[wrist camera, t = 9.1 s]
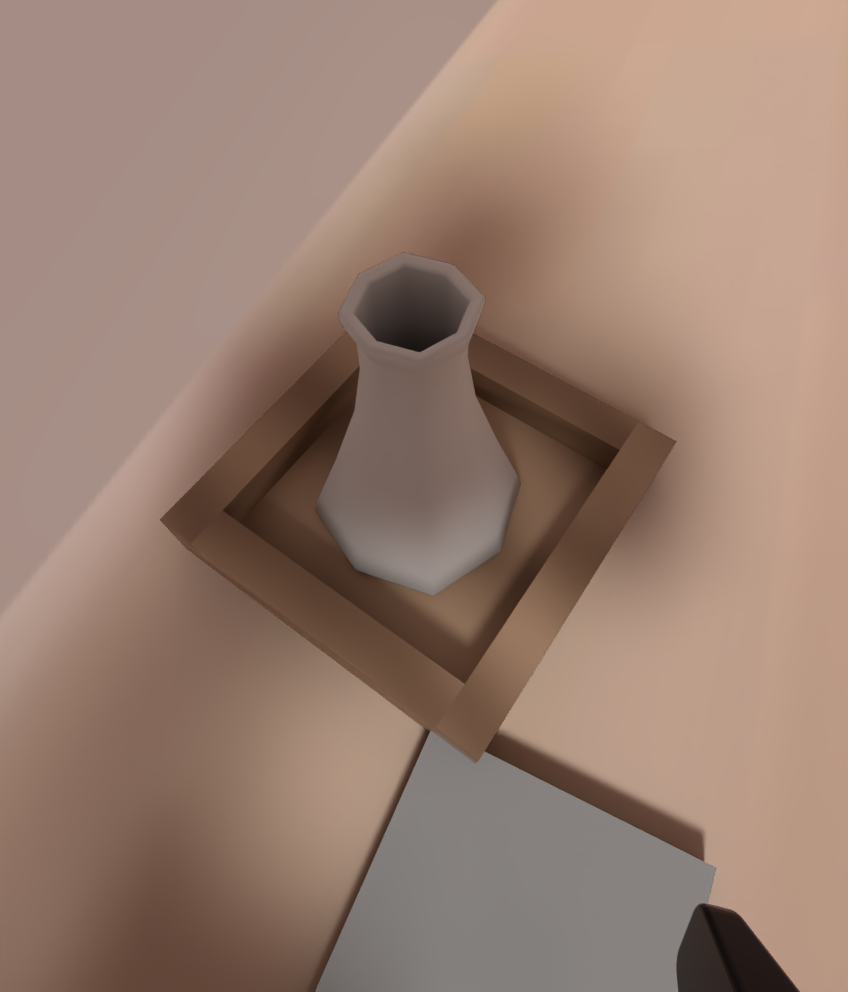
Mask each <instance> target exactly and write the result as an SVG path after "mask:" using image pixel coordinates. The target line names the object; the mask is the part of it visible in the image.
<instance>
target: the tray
mask: <svg viewBox="0 0 848 992" xmlns="http://www.w3.org/2000/svg"><path fill="white" fill-rule="evenodd" d="M468 360H469V365H470V370H471V375H472V380H473V385H474V390H475V395H476V398H477V400H478V402H479V404H480V406H481V408H482V410H483V412H484V414H485V416H486V418H487V420H488V422H489V424H490V426H491V428H492V431H493V433H494V435H495V437H496V439H497V441H498V443H499V444H500V446H501V448H502V449H503V451H504V453H505V455H506V456H507V458H508V460H509V462H510V463H511V465H512V467H513V469H514V470H515V472H516V474H517V476H518V478H519V480H520V482H521V486H520V489H519V492H518V496H517V499H516V502H515V505H514V509H513V512H512V515H511V518H510V522H509V525H508V528H507V531H506V534H505V538H504V541H503V544H502V547H501V551H500V552H499V553H497V554H496V555H494V556H493V557H491V558H490V559H488V560H487V561H485V562H484V563H482V564H481V565H479V566H478V567H476V568H474V569H473V570H471V571H470V572H468V573H467V574H465V575H464V576H462V577H461V578H459V579H458V580H456V581H455V582H453V583H452V584H450V585H449V586H447V587H446V588H444V589H443V590H441V591H440V592H438V593H437V594H435V595H434V596H433V595H430V594H427V593H423V592H420V591H417V590H414V589H411V588H408V587H405V586H402V585H399V584H396V583H393V582H390V581H387V580H384V579H381V578H378V577H375V576H372V575H369V574H366V573H363V572H360V571H357V570H355V569H354V567H353V566H352V564H351V563H350V561H349V560H348V558H347V557H346V555H345V554H344V552H343V551H342V549H341V548H340V546H339V545H338V543H337V542H336V540H335V539H334V537H333V536H332V534H331V533H330V531H329V530H328V528H327V527H326V525H325V524H324V522H323V521H322V519H321V518H320V516H319V515H318V513H317V512H316V510H315V507H316V504H317V501H318V499H319V496H320V494H321V492H322V489H323V487H324V485H325V483H326V481H327V478H328V476H329V474H330V472H331V469H332V467H333V465H334V463H335V461H336V458H337V455H338V453H339V450H340V447H341V445H342V442H343V439H344V437H345V434H346V432H347V429H348V426H349V424H350V421H351V418H352V416H353V413H354V410H355V403H356V395H357V387H358V379H359V371H360V366H359V358H358V351H357V344H356V342H355V341H354V340H353V339H352V337H351V336H350V335H349V334H348V332H346V333H345V334H344V335H343V336H342V337H341V338H340V339H339V340H338V341H337V342H336V343H335V344H334V345H333V346H332V347H331V348H330V349H329V350H328V351H327V352H326V353H325V354H324V355H323V356H322V357H321V358H320V359H319V360H318V361H317V362H316V363H315V364H314V365H313V366H312V367H311V368H310V369H309V370H308V371H307V372H306V373H305V374H304V375H303V376H302V377H301V378H300V379H299V380H298V381H297V382H296V383H295V384H294V385H293V386H292V387H291V388H290V389H289V390H288V391H287V392H286V393H285V394H284V395H283V396H282V397H281V398H280V399H279V400H278V401H277V402H276V403H275V404H274V405H273V406H272V407H271V408H270V409H269V410H268V411H267V412H266V413H265V414H264V415H263V416H262V417H261V418H260V419H259V420H258V421H257V422H256V423H255V424H254V425H253V426H252V427H251V428H250V429H249V430H248V431H247V432H246V433H245V434H244V435H243V436H242V437H241V438H240V439H239V440H238V441H237V442H236V443H235V444H234V445H233V446H232V447H231V448H230V449H229V450H228V451H227V452H226V453H225V454H224V456H223V457H222V458H221V459H220V460H219V461H218V462H217V463H216V464H215V465H214V466H213V467H212V468H211V469H210V470H209V471H208V472H207V473H206V474H205V475H204V476H203V477H202V478H201V479H200V480H199V481H198V482H197V483H196V484H195V485H194V486H193V487H192V488H191V489H190V490H189V491H188V492H187V493H186V494H185V495H184V496H183V497H182V498H181V499H180V500H179V501H178V502H177V503H176V504H175V505H174V506H173V507H172V508H171V509H170V510H169V511H168V512H167V513H166V514H165V515H164V516H163V517H162V518H161V519H160V521H161V522H162V523H163V524H164V525H165V526H166V527H167V528H168V529H169V530H170V531H171V533H172V534H173V535H174V536H175V537H176V538H177V539H178V540H179V541H180V542H181V543H182V544H183V545H184V546H185V548H187V549H188V550H189V551H191V552H192V553H193V554H195V555H196V556H197V557H199V558H200V559H201V560H203V561H204V562H205V563H207V564H208V565H209V566H211V567H212V568H213V569H215V570H216V571H217V572H219V573H220V574H221V575H222V576H224V577H225V578H226V579H228V580H229V581H230V582H232V583H233V584H234V585H236V586H237V587H238V588H240V589H241V590H242V591H244V592H245V593H246V594H248V595H249V596H250V597H252V598H253V599H254V600H256V601H257V602H258V603H260V604H261V605H262V606H264V607H265V608H266V609H267V610H269V611H270V612H271V613H273V614H274V615H275V616H277V617H278V618H279V619H281V620H282V621H283V622H285V623H286V624H287V625H289V626H290V627H291V628H293V629H294V630H295V631H297V632H298V633H299V634H301V635H302V636H303V637H305V638H306V639H307V640H309V641H310V642H311V643H312V644H314V645H315V646H316V647H318V648H319V649H320V650H322V651H323V652H324V653H326V654H327V655H328V656H330V657H331V658H332V659H334V660H335V661H336V662H338V663H339V664H340V665H342V666H343V667H344V668H346V669H347V670H348V671H350V672H351V673H352V674H354V675H355V676H356V677H357V678H359V679H360V680H361V681H363V682H364V683H365V684H367V685H368V686H369V687H371V688H372V689H373V690H375V691H376V692H377V693H379V694H380V695H381V696H383V697H384V698H385V699H387V700H388V701H389V702H391V703H392V704H393V705H395V706H396V707H397V708H399V709H400V710H401V711H402V712H404V713H405V714H406V715H408V716H409V717H410V718H412V719H413V720H414V721H416V722H417V723H418V724H420V725H421V726H422V727H424V728H425V729H426V730H428V731H429V732H430V731H433V732H434V733H435V734H437V735H438V736H439V737H441V738H442V739H443V740H445V741H446V742H447V743H449V744H450V745H451V746H453V747H454V748H455V749H457V750H458V751H459V752H461V753H462V754H463V755H465V756H466V757H467V758H469V759H470V760H471V761H472V762H474V763H475V764H476V763H477V762H478V761H479V759H480V758H481V756H482V755H483V753H484V751H485V750H486V748H487V747H488V745H489V743H490V742H491V740H492V738H493V737H494V735H495V734H496V732H497V730H498V729H499V727H500V726H501V724H502V722H503V721H504V719H505V717H506V716H507V714H508V713H509V711H510V709H511V708H512V706H513V705H514V703H515V701H516V700H517V698H518V697H519V695H520V693H521V692H522V690H523V688H524V687H525V685H526V684H527V682H528V680H529V679H530V677H531V676H532V674H533V672H534V671H535V669H536V667H537V666H538V664H539V663H540V661H541V659H542V658H543V656H544V655H545V653H546V651H547V650H548V648H549V646H550V645H551V643H552V642H553V640H554V638H555V637H556V635H557V634H558V632H559V630H560V629H561V627H562V626H563V624H564V622H565V621H566V619H567V617H568V616H569V614H570V613H571V611H572V609H573V608H574V606H575V605H576V603H577V601H578V600H579V598H580V596H581V595H582V593H583V592H584V590H585V588H586V587H587V585H588V584H589V582H590V580H591V579H592V577H593V575H594V574H595V572H596V571H597V569H598V567H599V566H600V564H601V563H602V561H603V559H604V558H605V556H606V554H607V553H608V551H609V550H610V548H611V546H612V545H613V543H614V542H615V540H616V538H617V537H618V535H619V534H620V532H621V530H622V529H623V527H624V525H625V524H626V522H627V521H628V519H629V517H630V516H631V514H632V513H633V511H634V509H635V508H636V506H637V504H638V503H639V501H640V500H641V498H642V496H643V495H644V493H645V492H646V490H647V488H648V487H649V485H650V483H651V482H652V480H653V479H654V477H655V475H656V474H657V472H658V471H659V469H660V467H661V466H662V464H663V462H664V461H665V459H666V458H667V456H668V454H669V453H670V451H671V450H672V448H673V446H674V445H675V443H676V442H677V441H675V440H673V439H671V438H669V437H667V436H665V435H664V434H662V433H660V432H658V431H656V430H654V429H652V428H650V427H648V426H647V425H645V424H643V423H641V422H639V421H637V420H635V419H633V418H631V417H630V416H628V415H626V414H624V413H622V412H620V411H618V410H616V409H614V408H613V407H611V406H609V405H607V404H605V403H603V402H601V401H599V400H598V399H596V398H594V397H592V396H590V395H588V394H586V393H584V392H582V391H581V390H579V389H577V388H575V387H573V386H571V385H569V384H567V383H565V382H564V381H562V380H560V379H558V378H556V377H554V376H552V375H550V374H549V373H547V372H545V371H543V370H541V369H539V368H537V367H535V366H533V365H532V364H530V363H528V362H526V361H524V360H522V359H520V358H518V357H516V356H515V355H513V354H511V353H509V352H507V351H505V350H503V349H501V348H499V347H498V346H496V345H494V344H492V343H490V342H488V341H486V340H484V339H483V338H481V337H479V336H477V335H475V334H473V335H472V337H471V340H470V342H469V345H468Z"/></svg>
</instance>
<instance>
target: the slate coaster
mask: <svg viewBox="0 0 848 992" xmlns="http://www.w3.org/2000/svg"><path fill="white" fill-rule="evenodd" d="M715 870H716V867H714V866H712V865H710V864H708V863H706V862H704V861H702V860H700V859H698V858H696V857H694V856H692V855H690V854H688V853H686V852H684V851H682V850H680V849H678V848H676V847H674V846H672V845H670V844H668V843H666V842H664V841H662V840H660V839H658V838H656V837H654V836H652V835H650V834H648V833H646V832H644V831H642V830H640V829H638V828H636V827H634V826H632V825H630V824H628V823H626V822H624V821H622V820H620V819H618V818H616V817H614V816H612V815H610V814H608V813H606V812H604V811H602V810H600V809H598V808H596V807H594V806H592V805H590V804H588V803H586V802H584V801H582V800H580V799H578V798H576V797H574V796H572V795H570V794H568V793H566V792H564V791H562V790H560V789H558V788H556V787H554V786H552V785H550V784H548V783H546V782H544V781H542V780H540V779H538V778H536V777H534V776H532V775H530V774H529V773H527V772H525V771H523V770H521V769H519V768H517V767H515V766H513V765H511V764H509V763H507V762H505V761H503V760H501V759H499V758H497V757H495V756H493V755H491V754H489V753H487V752H485V751H484V753H483V755H482V756H481V758H480V759H479V761H478V762H477V763H476V764H475V763H474V762H472V761H471V760H470V759H469V758H467V757H466V756H465V755H463V754H462V753H461V752H459V751H458V750H457V749H455V748H454V747H453V746H451V745H450V744H449V743H447V742H446V741H445V740H443V739H442V738H441V737H439V736H438V735H437V734H435V733H434V732H433V731H430V733H429V735H428V737H427V740H426V742H425V744H424V746H423V749H422V751H421V753H420V756H419V758H418V760H417V762H416V765H415V767H414V769H413V771H412V774H411V776H410V778H409V780H408V783H407V785H406V787H405V789H404V792H403V794H402V796H401V798H400V801H399V803H398V805H397V807H396V810H395V812H394V814H393V816H392V819H391V821H390V823H389V825H388V828H387V830H386V832H385V834H384V837H383V839H382V841H381V843H380V846H379V848H378V850H377V853H376V855H375V857H374V859H373V862H372V864H371V866H370V868H369V871H368V873H367V875H366V877H365V880H364V882H363V884H362V886H361V889H360V891H359V893H358V895H357V898H356V900H355V902H354V904H353V907H352V909H351V911H350V913H349V916H348V918H347V920H346V922H345V925H344V927H343V929H342V931H341V934H340V936H339V938H338V940H337V943H336V945H335V947H334V950H333V952H332V954H331V956H330V959H329V961H328V963H327V965H326V968H325V970H324V972H323V974H322V977H321V979H320V981H319V983H318V986H317V988H316V990H315V992H678V985H677V974H676V962H677V954H678V950H679V947H680V944H681V942H682V939H683V937H684V934H685V931H686V929H687V926H688V924H689V921H690V919H691V916H692V913H693V911H694V909H695V907H696V906H697V905H698V904H700V903H706V904H708V901H709V897H710V892H711V888H712V884H713V879H714V875H715Z"/></svg>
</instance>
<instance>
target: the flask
mask: <svg viewBox="0 0 848 992" xmlns="http://www.w3.org/2000/svg"><path fill="white" fill-rule="evenodd" d="M484 305H485V296H484V295H483V294H482V293H481V292H480V291H479V290H478V289H477V288H476V287H475V286H474V285H473V284H472V283H471V282H470V281H469V280H468V279H467V278H466V277H465V276H464V275H463V274H462V273H461V272H460V271H459V270H458V269H457V268H456V267H455V266H454V265H453V264H450V263H446V262H442V261H437V260H433V259H429V258H425V257H421V256H417V255H412V254H408V253H404V252H403V253H401V254H399V255H397V256H395V257H393V258H391V259H389V260H387V261H384V262H382V263H380V264H378V265H376V266H374V267H372V268H370V269H368V270H366V271H364V272H362V273H360V274H358V276H357V278H356V280H355V282H354V284H353V286H352V287H351V289H350V291H349V293H348V295H347V297H346V299H345V300H344V302H343V304H342V306H341V308H340V310H339V312H338V316H339V321H340V322H341V324H342V326H343V327H344V329H345V330H346V331H347V332H348V334H349V335H350V336H351V337H352V339H353V340H354V341H355V342H356V344H357V351H358V358H359V366H360V371H359V379H358V387H357V395H356V403H355V410H354V413H353V416H352V418H351V421H350V424H349V426H348V429H347V432H346V434H345V437H344V439H343V442H342V445H341V447H340V450H339V453H338V455H337V458H336V461H335V463H334V465H333V467H332V469H331V472H330V474H329V476H328V478H327V481H326V483H325V485H324V487H323V489H322V492H321V494H320V496H319V499H318V501H317V504H316V507H315V510H316V512H317V513H318V515H319V516H320V518H321V519H322V521H323V522H324V524H325V525H326V527H327V528H328V530H329V531H330V533H331V534H332V536H333V537H334V539H335V540H336V542H337V543H338V545H339V546H340V548H341V549H342V551H343V552H344V554H345V555H346V557H347V558H348V560H349V561H350V563H351V564H352V566H353V567H354V569H355V570H357V571H360V572H363V573H366V574H369V575H372V576H375V577H378V578H381V579H384V580H387V581H390V582H393V583H396V584H399V585H402V586H405V587H408V588H411V589H414V590H417V591H420V592H423V593H427V594H430V595H433V596H434V595H435V594H437V593H438V592H440V591H441V590H443V589H444V588H446V587H447V586H449V585H450V584H452V583H453V582H455V581H456V580H458V579H459V578H461V577H462V576H464V575H465V574H467V573H468V572H470V571H471V570H473V569H474V568H476V567H478V566H479V565H481V564H482V563H484V562H485V561H487V560H488V559H490V558H491V557H493V556H494V555H496V554H497V553H499V552H500V551H501V547H502V544H503V541H504V538H505V534H506V531H507V528H508V525H509V522H510V518H511V515H512V512H513V509H514V505H515V502H516V499H517V496H518V492H519V489H520V486H521V482H520V480H519V478H518V476H517V474H516V472H515V470H514V469H513V467H512V465H511V463H510V462H509V460H508V458H507V456H506V455H505V453H504V451H503V449H502V448H501V446H500V444H499V443H498V441H497V439H496V437H495V435H494V433H493V431H492V428H491V426H490V424H489V422H488V420H487V418H486V416H485V414H484V412H483V410H482V408H481V406H480V404H479V402H478V400H477V398H476V395H475V390H474V385H473V380H472V375H471V370H470V365H469V360H468V345H469V342H470V340H471V337H472V335H473V332H474V330H475V327H476V325H477V322H478V320H479V317H480V315H481V312H482V310H483V307H484Z"/></svg>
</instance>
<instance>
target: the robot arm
mask: <svg viewBox="0 0 848 992" xmlns="http://www.w3.org/2000/svg"><path fill="white" fill-rule="evenodd" d="M676 974H677V985H678V992H800V991H799V990H798V989H797V987H796V986H795V985H794V984H793V982H792V981H791V980H790V978H789V977H788V976H787V975H786V973H785V972H784V971H783V969H782V968H781V967H780V966H779V964H778V963H777V962H776V961H775V959H774V958H773V957H772V955H771V954H770V953H769V952H768V950H767V949H766V948H765V946H764V945H763V944H762V943H761V941H760V940H759V939H758V938H757V936H756V935H755V934H754V932H753V931H752V930H751V929H750V927H749V926H748V925H747V923H746V922H745V921H744V920H743V919H742V917H741V916H740V915H738V914H737V913H736V912H735V911H733V910H730V909H726V908H722V907H718V906H714V905H710V904H706V903H700V904H698V905H697V906H696V907H695V909H694V911H693V913H692V916H691V919H690V921H689V924H688V926H687V929H686V931H685V934H684V937H683V939H682V942H681V944H680V947H679V950H678V954H677V962H676Z"/></svg>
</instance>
